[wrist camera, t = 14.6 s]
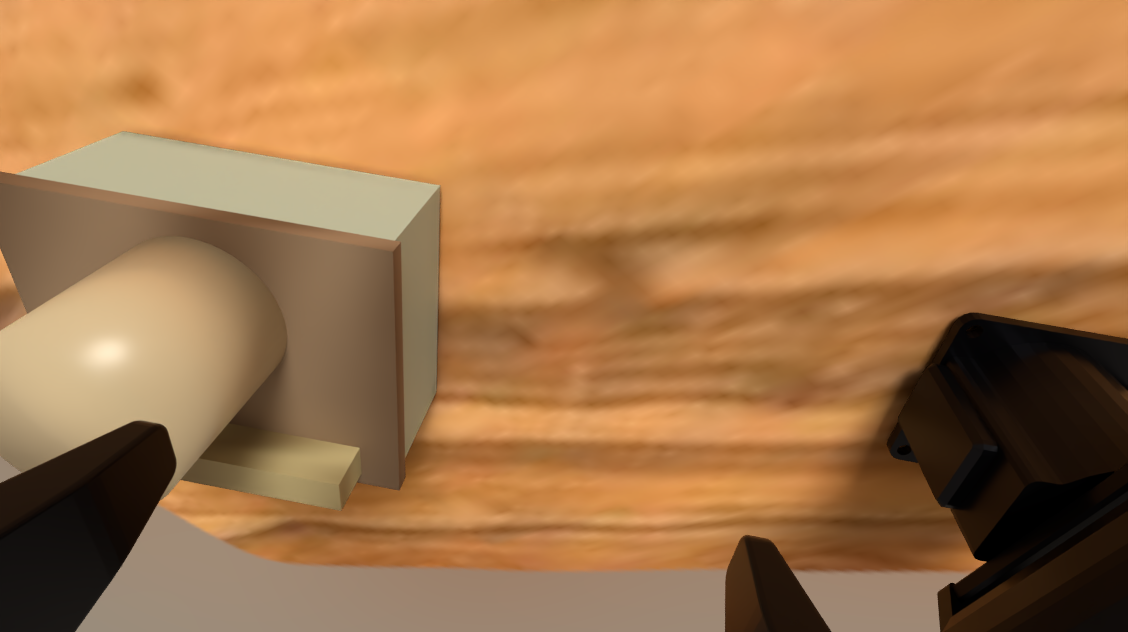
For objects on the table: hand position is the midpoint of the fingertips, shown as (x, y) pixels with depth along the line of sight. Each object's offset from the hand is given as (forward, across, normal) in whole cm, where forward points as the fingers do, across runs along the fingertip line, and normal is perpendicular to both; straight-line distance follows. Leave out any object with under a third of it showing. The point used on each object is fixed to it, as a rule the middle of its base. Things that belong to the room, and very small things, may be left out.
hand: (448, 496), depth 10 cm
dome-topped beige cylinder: (+8, +9, +4) cm, 13 cm away
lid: (+8, +10, +5) cm, 13 cm away
